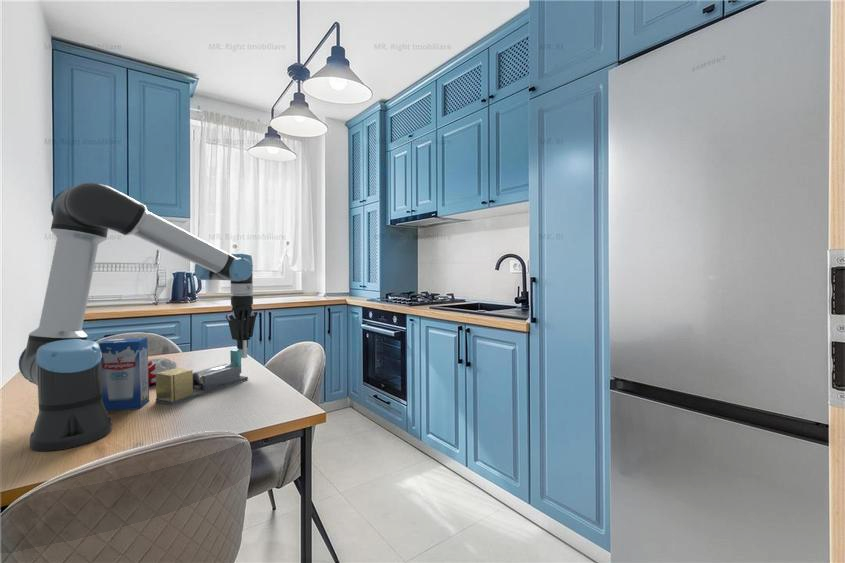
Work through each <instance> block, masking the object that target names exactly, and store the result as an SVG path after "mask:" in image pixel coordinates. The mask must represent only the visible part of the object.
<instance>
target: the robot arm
mask: <svg viewBox="0 0 845 563" xmlns="http://www.w3.org/2000/svg"><path fill="white" fill-rule="evenodd" d="M50 212H51V215H52V222H51V226H50V232H52V233H53V235H55V238H56V242H55V246H54V251H53V256H52V261H51V265H50V271H49V277H48V280H47V284H46V285H47V286H46V291H45V295H44V299H43V305H42V308H41V309H42V310H41V314H40V319H39V320H40V321H39V325H38V327H37V328H36V329H34V330H33V331H31V332H29V333H28V339H27V343H26V347H25V348H24V350H23V351H22V352H21V354H20V356H19V358H18V369H19V372H20V374H21V375H22V377H23V378H24V379H25V380H27V381H28V382H29V383H31V384H33V385H36V386H37V395H38V396H37V397H38V398H37V399H38V414H37V417H36V420H35V423H34V426H33V431H32V432H31V433H30V435H29V448H30V449H31V450H33V451H37V452H38V451H39V452H51V451H59V450H60V451H61V450H66V449H70V448H76V447H80V446H83V445H86V444H88V443H89V444H90V443H92V442H95V441H97V440H100V439H101V438H104V437H105V436H107V435H108V434H110V433H111V431H113V420H112V418H111V417H110V416H109V414H108V411H107V410H106V408H105V406H104V403H103V401H102V375H101V358H102V355H101V352H100V346H99V343H98V342H96V341H94V340H90V339H88V337H89V336H88V334H87V333H86V332H85V331H84V330H83V325H84V321H85V315H86V311H87V304H88V299H89V294H90V289H91V285H92V278H93V273H94V269H95V263H96V257H97V253H98V247H99V245H100V244H101V243H103V242H104V241H106V240H107V237H108V232H109V230H111V231H114V232H117V233H119V234H121V235H123V236H131V235H133V236H135V237H137V238H140V239H141V240H144V241H146V242H148V243H150V244H152V245H155V246H156V247H159V248H161V249H163V250H165V251H168V252H169V253H171V254H174V255H175V256H178V257H179V258H180V257H181V258H182V259H184V260H187V261H189V262H192V263H193V264H194V275H195V276H196V278H197V279H198V280H200V281H230V295H231V296H230V306H231V311H230V314H226V315H225V319H226V320H227V322H228V327H229V330H230V336H231V339H232V340H235V341H236V343H237V344H236V347H237V349H236V350H241V359H246V358H248V348H249V341H250V340H251V338H252V337H253V336H254V330H255V325H256V318H257V316H258V311H254V309H253V307H252V305H254V296H253V291H254V290H253V288H254V287H253V286H254V285H253V281H254V280H253V279H254V278H253V266H254V265H253V256H252V255H251V254H250V253H231V254H230V253H228V252H227V251H225V250H223V249H220V248H219V247H217V246H215V245H213V244H211V243H209V242H208V241H206V240H203V239H201V237H198V236H196V235H194V234H192V233H190V232H188V231H186V230H184V229H183V228H181V227H179V226H177V225H175V224H173V223H171V222H169V220H166V219H163V217H160V216H158V215H156V214H154V213H153V212H150V211H148V208H147V206H146V205H145V204H143V203H141V202H139V201H137V200H136V199H134V198H133V197H130V196H129V195H127V194H125V193H123V192H121V191H119V190H117V189H115V188H113V187H111V186H109V185H106V184H103V183H98V182H84V183H80V184H77V185H74V186H71V187H66V188H64V189H63V190H61V191H59V192H58V193H57V194H56V195H55V196H54V197H53V199H52V201H51V204H50Z"/></svg>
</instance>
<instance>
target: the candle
mask: <svg viewBox="0 0 845 563" xmlns="http://www.w3.org/2000/svg"><path fill="white" fill-rule="evenodd" d="M175 368H178V366H177V363H176V361H175V360H173V359H170V358H167V357H153V358H148V379H149V386H153V385H156V373H159V372H163V371H167V370H171V369H175Z"/></svg>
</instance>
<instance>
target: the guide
mask: <svg viewBox="0 0 845 563" xmlns="http://www.w3.org/2000/svg"><path fill="white" fill-rule="evenodd" d="M228 364H229V363H228ZM228 364H227V363H223V364H219V365H216V366H212V367H208V368H205V369H201V370H198V371H194V372H193V369H189V368H182V367H177V368H175V369H171V370H167V371H163V372H159V373H156V383H155V390H156V391H155V393H156V394H155V396H156V398H157V399H160V400H165V401H170V402H173V401H176V400H179V399H182V398H185V397H188V396H191V395H193V388H194V389H197V390H203V391H206V390H209V389H213V388H216V387H219V386H222V385H225V384H228V383H231V382H234V381H237V380H240V376H241V373H240V366H238V365H237V366H234V367H230V368H227V369H223V370H220V371H216V372H213V373H209V374H206V375H202V384H198V383H197V382H196V379H195V376H196V374H197V373H199V372H202V371H206V370H210V369H213V368H217V367H220V366H224V365H228ZM156 398H155V399H156Z"/></svg>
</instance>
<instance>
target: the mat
mask: <svg viewBox="0 0 845 563" xmlns="http://www.w3.org/2000/svg"><path fill="white" fill-rule="evenodd" d="M247 379H248V380H249V377H248V376H245V375H244V376H243V375H240V380H237V381H234V382H231V383H228V384H225V385H222V386H219V387H216V388H213V389H209V390H206V391H203V390H197V389H194V388H193V395H191V396H188V397H185V398H182V399H179V400H176V401H173V402H170V401H165V400H160V399H157V398H155V402H156V403H160V404H165V405H169V406H175V405H178V404H181V403H183V402H186V401H189V400H192V399H194V398H198V397H201V396H204V395H207V394H209V393H213V392H215V391H218V390H221V389H224V388H228V387H230V385H231V386H233V384H234V385H236V383H237V384H239V383H238V382H240V383H242V382H241V381H243V382H245V381H248V380H247ZM244 380H245V381H244ZM227 386H228V387H227Z"/></svg>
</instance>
